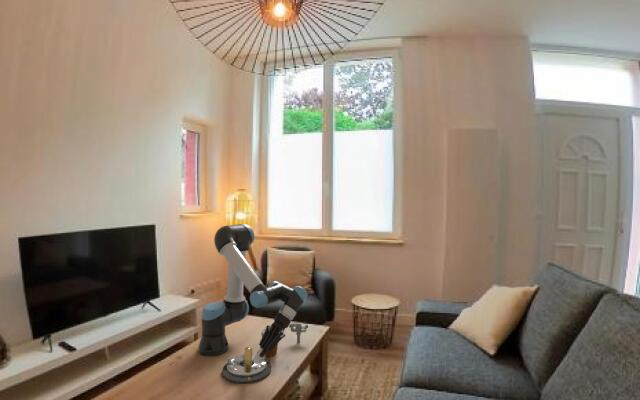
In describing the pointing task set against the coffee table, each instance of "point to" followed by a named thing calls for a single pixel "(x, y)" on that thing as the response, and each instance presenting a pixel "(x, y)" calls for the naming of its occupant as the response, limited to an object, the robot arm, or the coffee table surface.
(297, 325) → the mechanical component
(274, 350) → the disposable coffee cup
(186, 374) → the coffee table surface
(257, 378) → the base plate
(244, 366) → the lugged metal disc
